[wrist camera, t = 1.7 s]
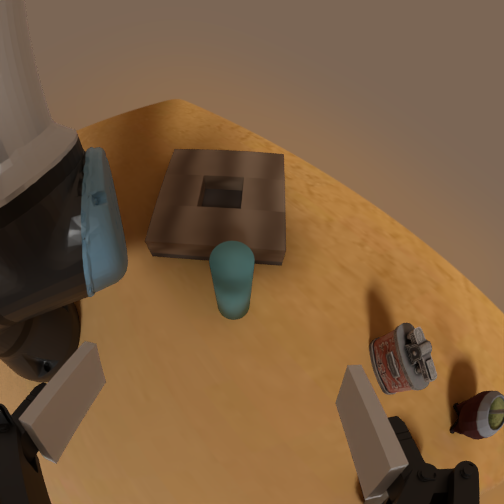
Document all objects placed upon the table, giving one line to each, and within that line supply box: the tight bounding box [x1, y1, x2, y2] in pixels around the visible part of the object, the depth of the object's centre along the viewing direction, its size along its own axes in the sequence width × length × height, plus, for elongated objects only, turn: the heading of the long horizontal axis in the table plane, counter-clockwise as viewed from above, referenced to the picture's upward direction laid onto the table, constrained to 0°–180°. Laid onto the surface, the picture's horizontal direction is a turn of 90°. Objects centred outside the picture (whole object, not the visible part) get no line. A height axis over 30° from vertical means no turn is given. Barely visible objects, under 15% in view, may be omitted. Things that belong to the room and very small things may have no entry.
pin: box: [209, 241, 255, 320], centre depth 30 cm, size 4×4×12 cm
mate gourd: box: [450, 391, 504, 439], centre depth 21 cm, size 8×8×15 cm
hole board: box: [145, 149, 286, 265], centre depth 41 cm, size 18×18×4 cm
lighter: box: [369, 323, 437, 395], centre depth 28 cm, size 8×3×10 cm, turn 14°
